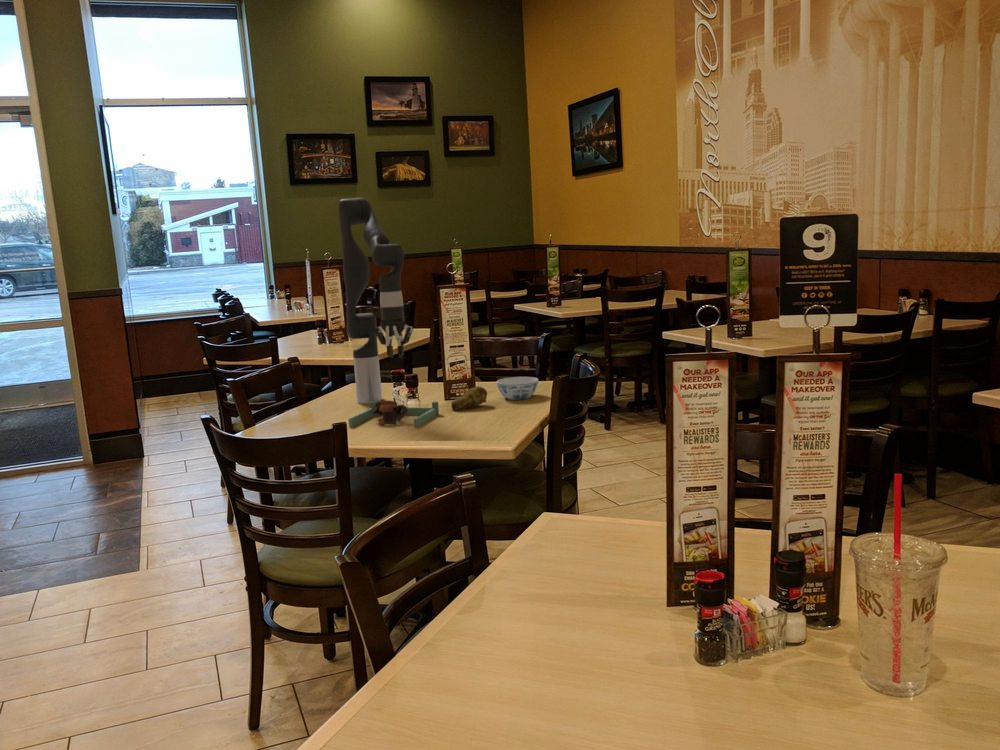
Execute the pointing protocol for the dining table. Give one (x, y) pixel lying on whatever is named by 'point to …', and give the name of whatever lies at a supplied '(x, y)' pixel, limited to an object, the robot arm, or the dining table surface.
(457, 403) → the olive green tapered lump
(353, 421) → the teal bars
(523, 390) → the chinaware
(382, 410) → the pottery mug
